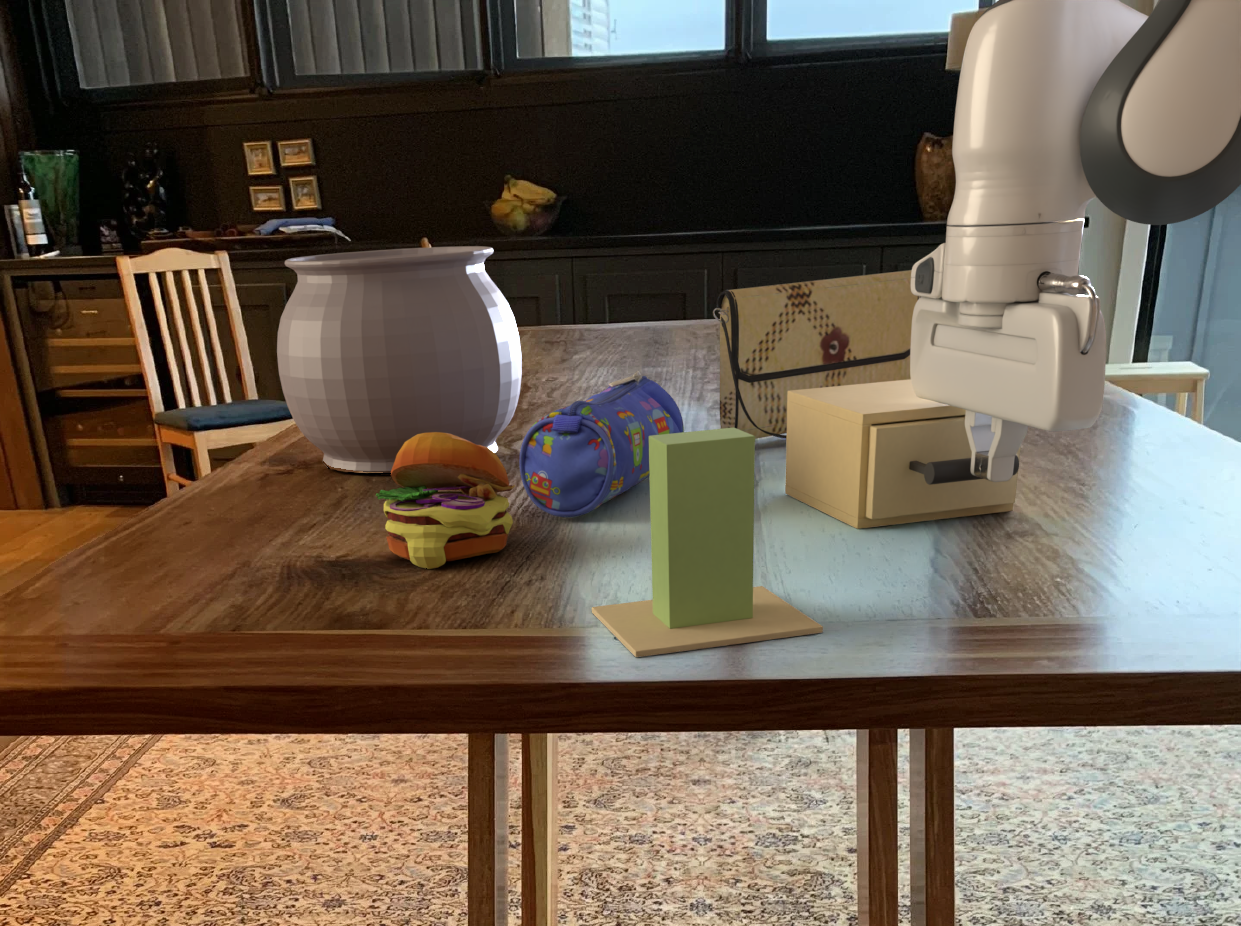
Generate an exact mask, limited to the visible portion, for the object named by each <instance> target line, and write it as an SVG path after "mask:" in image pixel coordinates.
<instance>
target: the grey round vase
mask: <svg viewBox="0 0 1241 926" xmlns="http://www.w3.org/2000/svg"><path fill="white" fill-rule="evenodd" d="M494 252H495V251H494V248H493V247H491V246H479V245H471V246H470V245H468V246H467V245H466V246H465V245H464V246H463V245H462V246H431V247H430V246H429V247H412V248H394V249H378V250H377V249H376V250H364V251H350V252H349V251H348V252H336V253H325V254H316V255H315V254H314V255H306V256H305V255H304V256H299V257H291V258H288V259H286V260H284V265H285V267H287V268H289V269H291V270H293V271H294V273H295V274H296V275H297V276H296V277H297V282H296V284H295V287H294V289H293V291H292V292H291V295H290V297H289V299H288V301H287V302H286V304H285V307H284V309H283V312H282V314H281V316H280V319H279V325H278V330H277V340H276V341H277V342H276V353H277V357H276V358H277V368H278V375H279V381H280V384H281V389H282V393H283V396H284V399H285V402H286V405H287V409H288V410H289V412H290V415H291V417H292V419H293V421H294V424H295V425H296V427H297V428H298V430H299V431H300V432H301V434H302V435H303V436H304V437H305V438H306V439H307V440H308V441H309V442H310V443H311V444H313V446H315V447H316V448H317V449H319V451H321V452H322V453H323V458H322V462H323V461H324V462H325V463H326V464H327V465H329V466H331V467H334V468H341V469H346V470H353V471H363V472H383V473H391V470H392V467H393V465H394V462H395V459H396V456H397V454H398V452H399V450H400V449H401V447H402V446H403V444H404V443H405V442H406V441H407V440H409V439H411V438H412V437H414V436H415V435H417V434H421V433H429V432H441V433H449V434H452V435H455V436H458V437H460V438H463V439H465V440H467V441H470V442H472V443H474V444H476V445H482V446H484V447H487V448H489V449H490V450H491V451H493V452H494V453H495V454H496V453H497V451H498V450H499V447H498V445H497V442H496V441H497V438H499V436H500V435H501V434H502V433H503V432H504V430H506V428H507V427H508V426H509V424H510V423H511V421H512V419H513V417H514V416H515V412H516V409H517V406H518V402H519V398H520V393H521V386H522V385H521V384H522V376H523V374H522V373H523V372H522V371H523V370H522V364H523V363H522V362H523V361H522V348H521V341H520V335H519V331H518V327H517V323H516V318H515V316H514V313H513V311H512V309H511V307H510V304H509V302H508V300H507V299H506V297H505V296H504V294H503V293H502V291H501V290H500V288H498V286H497V284H496V283H495V282H494V281H493V280H492V278H491V277H490V276H489V274H488V272H486V270H485V264H484V263H485V262H486V259H487V258H488V257H490V256H491V255H493V254H494Z"/></svg>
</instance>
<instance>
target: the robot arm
mask: <svg viewBox="0 0 1241 926" xmlns="http://www.w3.org/2000/svg"><path fill="white" fill-rule="evenodd" d="M951 145H952V146H951V147H952V148H951V155H952V162H953V165H954V166H953V167H954V172H955V187H954V195H953V200H952V203H951V206H950V209H949V212H948V215H947V219H946V228H945V229H946V232H945V242H943V243H941V244H939V245H938V246H937V247H936V249H934V250H933V251H931V252H930V253H929V254H927V255H925V256H924V257H922V258H921V259H919V260H917V261H916V262H915V263H914V264H913V265H912V267H911V270H912V271H911V292H912V294H914V295H916V296H921V298H919V299H918V301H917V302H916V304H915V307H914V311H913V316H912V327H911V348H910V377H911V382H912V386H913V389H914V392H915V394H916V396H917V397H919V398H923V399H927V400H931V401H934V402H938V403H942V404H946V405H950V406H953V407H957V408H961V409H965V410H966V415H965V428H966V432H967V436H968V440H969V444H970V448H971V451H972V457H971V469H970V471H971V473H972V474H973V475H975V476H977V477H981V478H984V479H986V480H989V481H992V482H1002V481H1008V480H1010V479H1011V478H1012V475H1013V468H1014V458H1015V455H1016V454H1017V452H1018V450H1019V448H1020V446H1021V447H1022V444H1023V442H1024V440H1025V438H1026V436H1027V435H1028V433H1029V427H1030V428H1034V429H1038V430H1041V431H1045V432H1049V433H1057V432H1071V431H1079V430H1086V429H1090V428H1092V427H1093V426H1094V424H1095V423H1096V422H1097V420H1098V418H1099V417H1100V415H1101V413H1102V412H1103V411H1102V410H1103V407H1104V406H1103V405H1104V399H1105V398H1104V397H1105V386H1106V385H1105V384H1106V383H1105V382H1106V367H1107V366H1106V365H1107V364H1106V363H1107V362H1106V361H1107V331H1106V330H1107V329H1106V322H1105V317H1104V314H1103V312H1102V310H1101V307H1102V305H1101V299H1100V297H1099V296H1097V294H1096V291H1095V289H1094V287H1093V286H1092V282H1091V279H1090V278H1088V277H1087V276H1084V275H1079V268H1080V258H1081V252H1082V242H1083V234H1084V225H1085V215H1086V210H1087V209H1086V208H1087V206H1088V204H1089V203H1090V202H1091V201H1093V200H1094V199H1098V200H1099V201H1100V203H1102V205H1104V206H1105V207H1106V209H1108V210H1109V211H1110V212H1112V213H1113V214H1115V215H1117V216H1118V217H1120V218H1123V219H1124V220H1128V221H1130V222H1134V223H1136V224H1141V225H1151V226H1163V225H1171V224H1177V223H1183V222H1186V221H1188V220H1191V219H1193V218H1196V217H1198V216H1200V215H1202V214H1204V213H1207V212H1208V211H1211V210H1212V209H1213V208H1215V207H1216V206H1217V205H1219V204H1221V203H1222V202H1223V201H1225V200H1226V199H1227V198H1228V197H1229V196H1231V195H1232V194H1233V193H1234V192H1235V191H1236V190H1237V189H1238V188H1239V187H1240V186H1241V0H1158V1H1157V2H1156V4H1155V6H1154V7H1153V9H1152V11H1151V13H1150V15H1146V14H1145V13H1143V12H1140V11H1138V10H1136V9H1135V8H1132V7H1131V6H1129V5H1127V4H1126V3H1124V2H1122V1H1120V0H997V1H995V2H994V3H993V4H992V5H990V6H989V7H988V8H987V9H986V10H985V11H983V13H982V14H981V15H980V16H979V18H978V19H977V21H975V23H974V25H973V26H972V28H971V30H970V32H969V34H968V38H967V41H966V45H965V48H964V53H963V56H962V61H961V68H960V73H959V80H958V86H957V94H956V104H955V111H954V121H953V134H952V144H951ZM1085 294H1086V295H1085Z"/></svg>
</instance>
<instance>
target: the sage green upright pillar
mask: <svg viewBox="0 0 1241 926" xmlns="http://www.w3.org/2000/svg"><path fill="white" fill-rule="evenodd" d="M755 457H756V439H755V436H753V435H751V434H749V433H746V432H744V431H741V430H739V429H736V428H734V427H733V428H723V429H721V428H715V429H714V428H713V429H703V430H694V431H684V432H682V433H672V434H662V435H651V436H649V474H650V476H649V507H650V509H649V512H650V553H651V554H650V556H651V557H650V558H651V592H652V593H651V594H652V595H651V596H652V598H651V600H653V614H654V615H655V616H656V617H657V618H658V619H659V620H661V621H662V622H663V623H664V624H665V625H666V626H667V627H668V628H670V629H672V628H679V627H687V626H695V625H703V624H710V623H718V622H726V621H733V620H741V619H749V618H753V587H754V551H755V549H754V548H755V547H754V545H755V543H754V542H755V540H754V539H755V477H756V476H755V469H756V467H755V466H756V465H755V464H756V463H755V462H756V458H755Z"/></svg>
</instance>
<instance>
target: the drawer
mask: <svg viewBox="0 0 1241 926" xmlns="http://www.w3.org/2000/svg"><path fill="white" fill-rule="evenodd" d="M871 425H872V426H870V435H869V454H868V473H867V492H866V511H865V516H866V517H868V518H870V519H881V518H890V517H898V516H907V515H916V514H924V513H933V512H942V511H950V510H959V509H968V508H976V507H985V506H994V505H1002V504H1011V503H1013V504H1015V503H1016V498H1017V486H1018V479H1019V478H1018V477H1019V469H1020V458H1021V451H1022V449H1021V448H1022V445H1021V446H1020V448H1019V450H1018V452H1017V454H1016V455H1015V458H1014V468H1013V475H1012V478H1011V479H1010V480H1008V481H1002V482H992V481H989V480H986V479H984V478H981V477H977V476H975V475H973V474H972V473H971V471H970V469H971V457H972V451H971V448H970V444H969V440H968V436H967V432H966V428H965V415H960V416H950V417H940V418H929V419H919V420H909V421H899V422H889V423H879V424H871Z"/></svg>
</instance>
